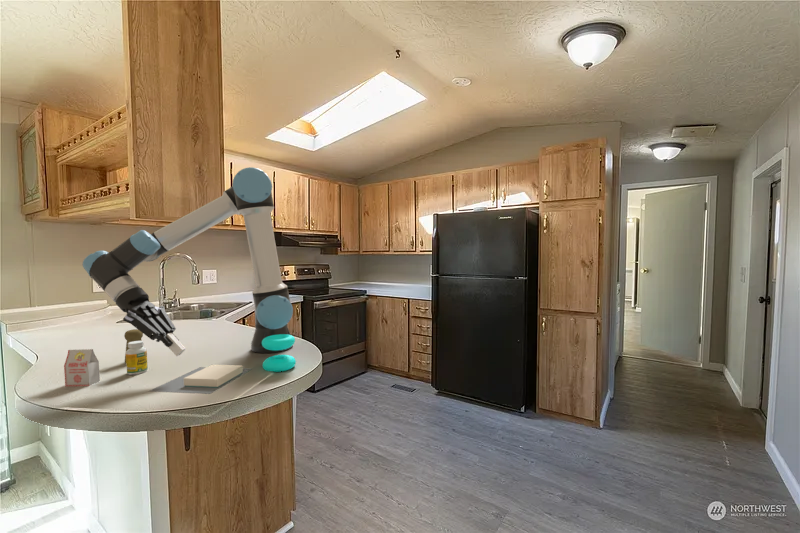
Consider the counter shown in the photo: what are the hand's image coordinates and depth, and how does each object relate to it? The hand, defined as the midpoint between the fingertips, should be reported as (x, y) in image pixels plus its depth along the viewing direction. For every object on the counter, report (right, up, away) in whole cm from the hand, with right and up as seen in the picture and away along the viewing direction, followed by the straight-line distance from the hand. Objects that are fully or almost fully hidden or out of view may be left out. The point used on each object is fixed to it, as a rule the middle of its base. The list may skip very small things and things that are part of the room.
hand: (181, 352), depth 108 cm
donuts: (+25, -7, +10) cm, 28 cm away
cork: (-28, -8, +20) cm, 35 cm away
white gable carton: (-28, -9, -1) cm, 29 cm away
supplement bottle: (-18, -8, +8) cm, 22 cm away
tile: (+5, -6, -1) cm, 8 cm away
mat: (+7, -8, -1) cm, 11 cm away
